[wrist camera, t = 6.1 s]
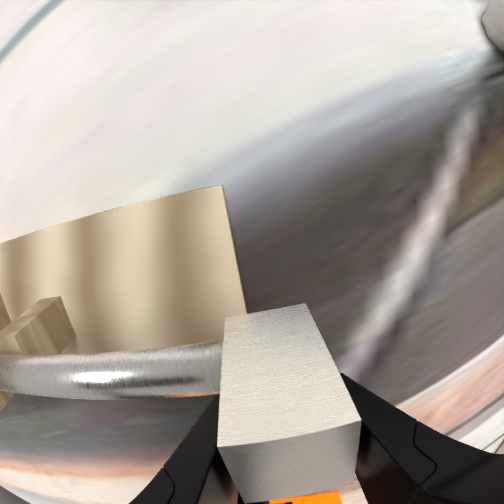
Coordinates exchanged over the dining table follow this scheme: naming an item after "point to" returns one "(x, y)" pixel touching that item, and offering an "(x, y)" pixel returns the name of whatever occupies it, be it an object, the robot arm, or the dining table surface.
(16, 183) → the dining table surface
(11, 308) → the wooden latch stand
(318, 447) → the shaft
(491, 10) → the salt shaker
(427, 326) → the dining table surface
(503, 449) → the bowl
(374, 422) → the robot arm
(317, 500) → the orange juice
